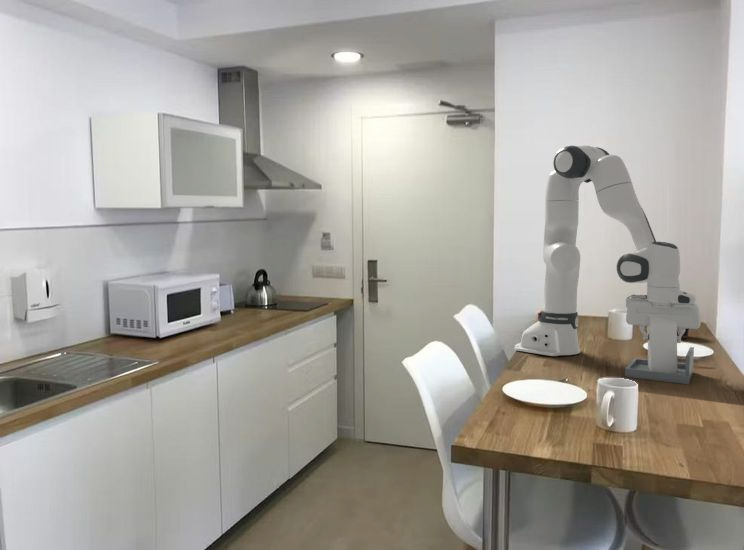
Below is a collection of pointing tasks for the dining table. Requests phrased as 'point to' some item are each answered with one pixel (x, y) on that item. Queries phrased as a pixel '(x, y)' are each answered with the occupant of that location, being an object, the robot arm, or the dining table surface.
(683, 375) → the tray
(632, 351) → the dining table surface
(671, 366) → the milk carton
